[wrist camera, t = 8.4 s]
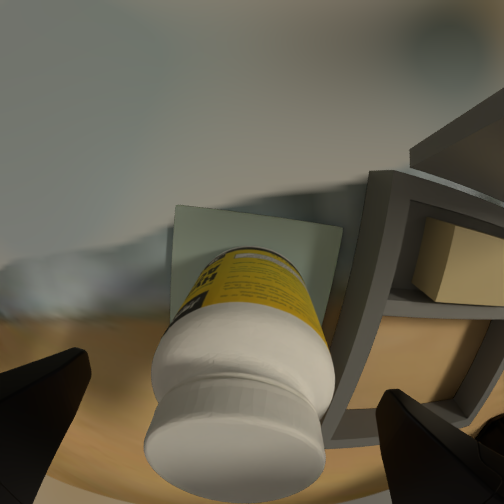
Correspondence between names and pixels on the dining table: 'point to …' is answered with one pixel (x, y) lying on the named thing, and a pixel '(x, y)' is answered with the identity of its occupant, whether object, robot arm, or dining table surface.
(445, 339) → the dining table surface
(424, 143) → the lid
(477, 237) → the case
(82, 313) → the dining table surface
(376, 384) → the dining table surface
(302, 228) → the pad
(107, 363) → the dining table surface
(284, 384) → the supplement bottle
